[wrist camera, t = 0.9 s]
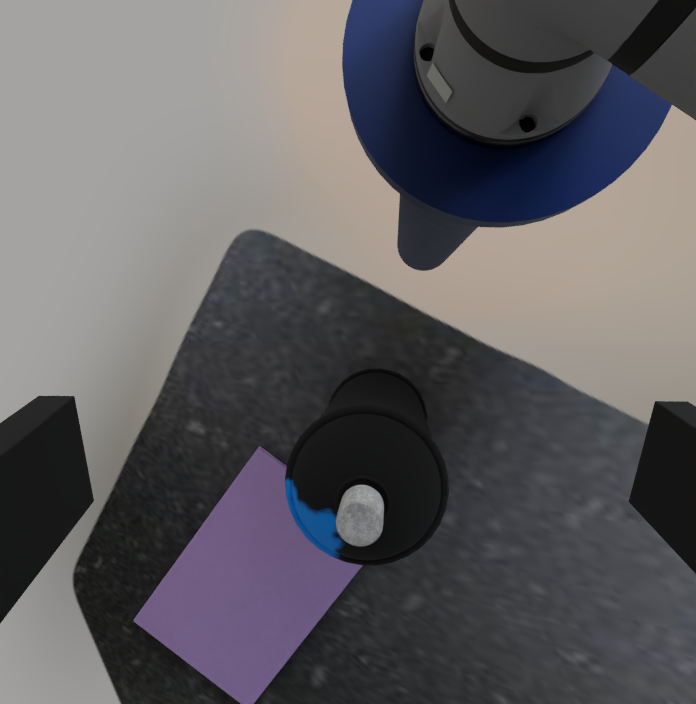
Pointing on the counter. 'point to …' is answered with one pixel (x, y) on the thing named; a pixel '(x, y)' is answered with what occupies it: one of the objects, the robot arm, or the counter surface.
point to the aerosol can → (368, 472)
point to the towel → (245, 586)
